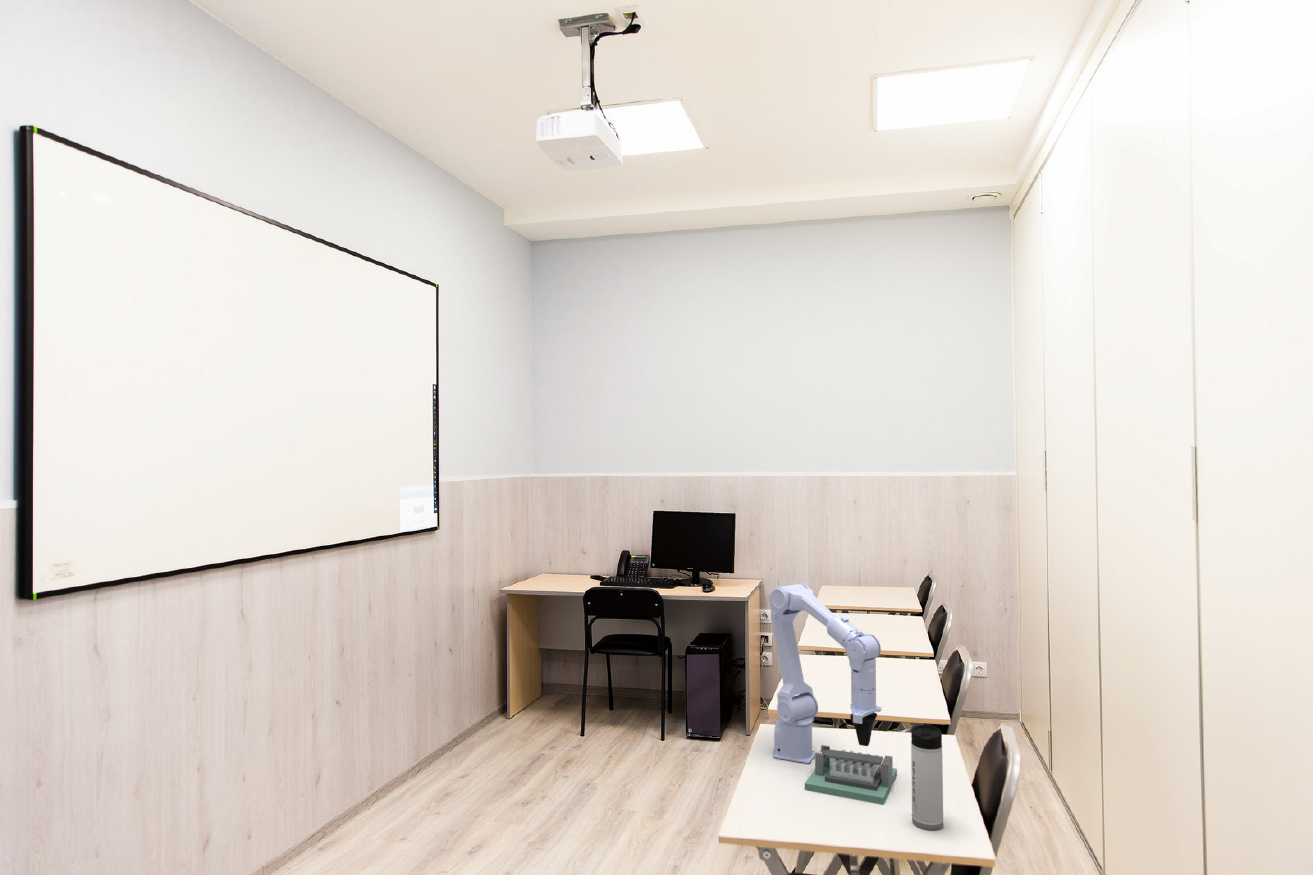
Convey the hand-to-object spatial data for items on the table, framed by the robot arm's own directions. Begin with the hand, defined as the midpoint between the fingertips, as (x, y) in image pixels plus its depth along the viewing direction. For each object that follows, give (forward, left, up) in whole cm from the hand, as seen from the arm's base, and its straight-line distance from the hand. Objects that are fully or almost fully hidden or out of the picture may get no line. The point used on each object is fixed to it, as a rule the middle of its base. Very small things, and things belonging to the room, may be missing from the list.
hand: (864, 744), depth 185 cm
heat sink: (-2, 0, -8) cm, 8 cm away
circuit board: (-3, 0, -9) cm, 10 cm away
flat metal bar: (-3, 0, -4) cm, 5 cm away
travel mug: (+16, -14, -10) cm, 23 cm away
